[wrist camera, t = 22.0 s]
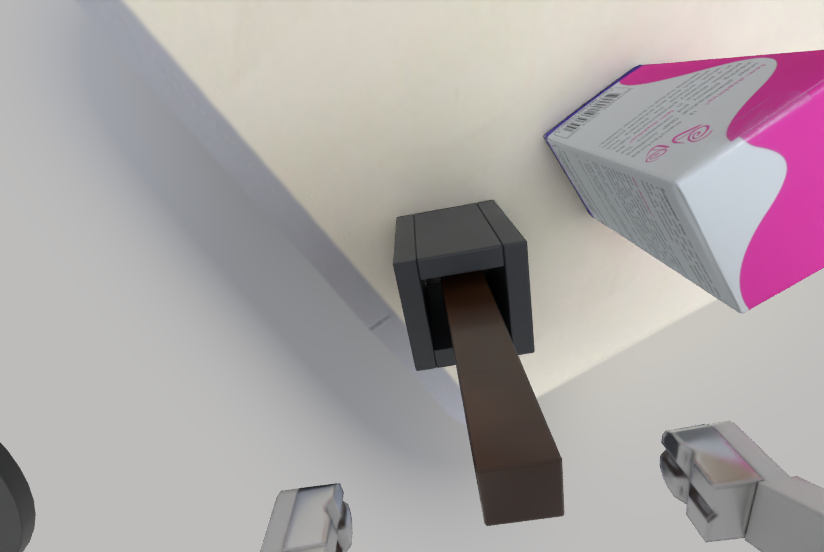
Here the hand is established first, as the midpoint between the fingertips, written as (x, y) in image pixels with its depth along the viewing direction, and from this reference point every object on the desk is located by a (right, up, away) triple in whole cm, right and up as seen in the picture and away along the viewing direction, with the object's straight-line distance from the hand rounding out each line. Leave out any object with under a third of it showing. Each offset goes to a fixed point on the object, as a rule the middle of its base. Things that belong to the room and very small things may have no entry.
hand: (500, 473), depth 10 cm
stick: (0, +6, +14) cm, 15 cm away
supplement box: (+9, +12, +12) cm, 19 cm away
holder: (0, +6, +14) cm, 15 cm away
